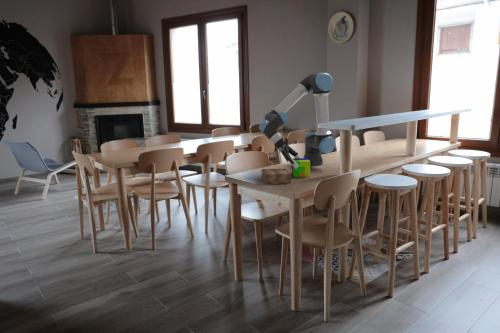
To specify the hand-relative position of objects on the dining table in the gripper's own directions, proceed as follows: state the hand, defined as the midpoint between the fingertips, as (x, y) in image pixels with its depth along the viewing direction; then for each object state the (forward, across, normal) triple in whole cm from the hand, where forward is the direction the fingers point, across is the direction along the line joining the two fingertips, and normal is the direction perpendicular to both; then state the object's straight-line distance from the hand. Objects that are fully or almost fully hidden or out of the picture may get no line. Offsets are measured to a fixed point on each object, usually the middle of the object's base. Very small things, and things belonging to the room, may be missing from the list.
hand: (300, 165), depth 252 cm
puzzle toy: (+5, -1, -4) cm, 7 cm away
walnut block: (-2, +19, -12) cm, 23 cm away
